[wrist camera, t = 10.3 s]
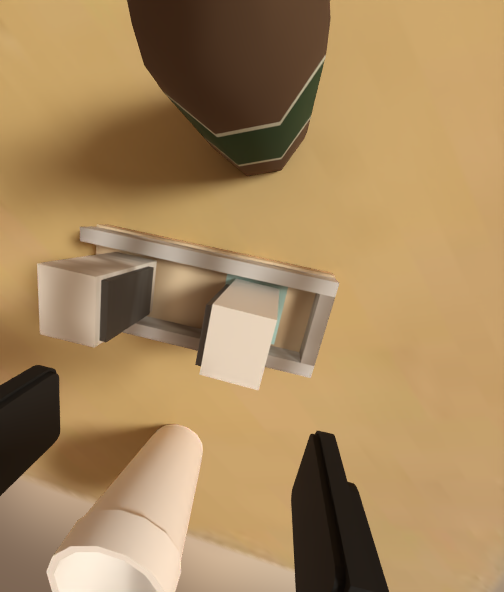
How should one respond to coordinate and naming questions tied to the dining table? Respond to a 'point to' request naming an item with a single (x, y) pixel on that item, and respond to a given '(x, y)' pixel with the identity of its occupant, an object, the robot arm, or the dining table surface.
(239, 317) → the white foam block
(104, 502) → the foam cup
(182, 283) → the finger rail
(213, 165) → the dining table surface
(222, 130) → the beer bottle
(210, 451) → the dining table surface
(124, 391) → the dining table surface
